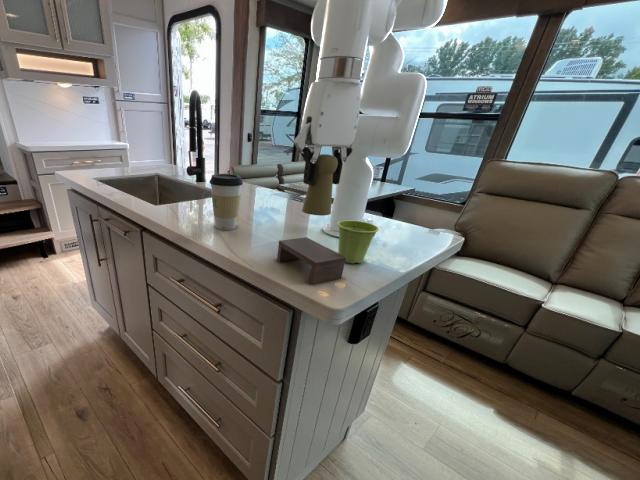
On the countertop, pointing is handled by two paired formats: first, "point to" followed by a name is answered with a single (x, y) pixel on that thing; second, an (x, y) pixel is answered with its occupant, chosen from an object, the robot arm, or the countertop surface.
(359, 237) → the plant pot
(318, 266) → the shelf
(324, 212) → the olive pawn figure
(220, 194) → the coffee cup
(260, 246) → the countertop surface
